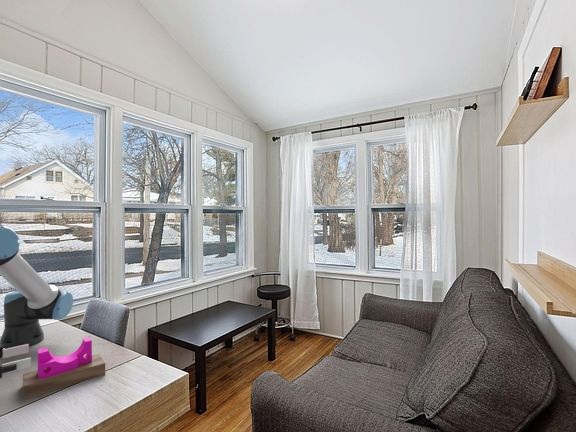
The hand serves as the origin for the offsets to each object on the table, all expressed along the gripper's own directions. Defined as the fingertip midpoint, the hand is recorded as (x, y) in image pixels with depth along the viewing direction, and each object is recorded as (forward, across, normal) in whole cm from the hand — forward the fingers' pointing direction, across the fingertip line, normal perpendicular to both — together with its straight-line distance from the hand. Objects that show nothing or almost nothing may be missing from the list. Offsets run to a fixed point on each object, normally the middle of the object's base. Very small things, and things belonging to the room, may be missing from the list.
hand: (30, 354), depth 101 cm
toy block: (+10, 0, -8) cm, 12 cm away
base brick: (+9, 0, -12) cm, 15 cm away
